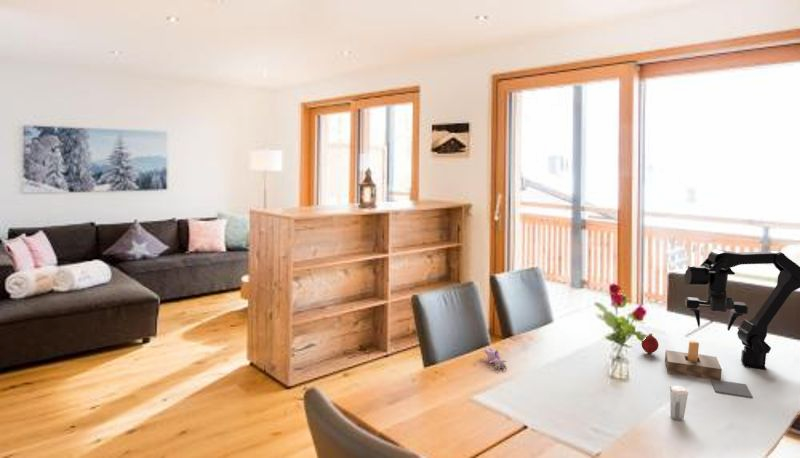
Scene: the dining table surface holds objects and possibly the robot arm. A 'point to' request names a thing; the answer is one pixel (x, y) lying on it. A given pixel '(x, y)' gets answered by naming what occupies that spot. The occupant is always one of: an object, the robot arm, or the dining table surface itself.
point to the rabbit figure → (495, 358)
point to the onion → (650, 344)
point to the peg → (693, 351)
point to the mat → (731, 388)
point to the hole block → (692, 365)
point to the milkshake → (678, 402)
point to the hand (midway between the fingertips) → (713, 328)
